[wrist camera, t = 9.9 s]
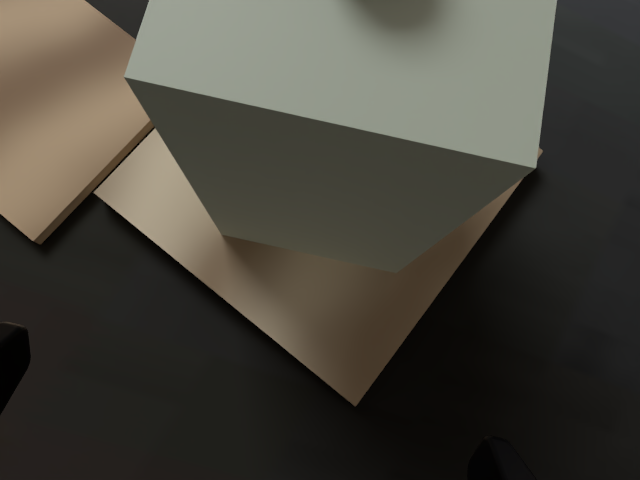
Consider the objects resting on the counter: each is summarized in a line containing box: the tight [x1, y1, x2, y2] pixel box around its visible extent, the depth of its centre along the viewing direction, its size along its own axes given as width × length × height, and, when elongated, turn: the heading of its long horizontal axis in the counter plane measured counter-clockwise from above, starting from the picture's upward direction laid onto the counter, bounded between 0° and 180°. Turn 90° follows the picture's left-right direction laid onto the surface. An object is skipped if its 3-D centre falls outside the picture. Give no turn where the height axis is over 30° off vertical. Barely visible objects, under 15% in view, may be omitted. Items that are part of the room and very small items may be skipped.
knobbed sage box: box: [124, 0, 557, 273], centre depth 14 cm, size 7×7×13 cm
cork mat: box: [0, 0, 154, 245], centre depth 21 cm, size 9×9×1 cm
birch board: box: [94, 128, 543, 407], centre depth 21 cm, size 13×13×1 cm
